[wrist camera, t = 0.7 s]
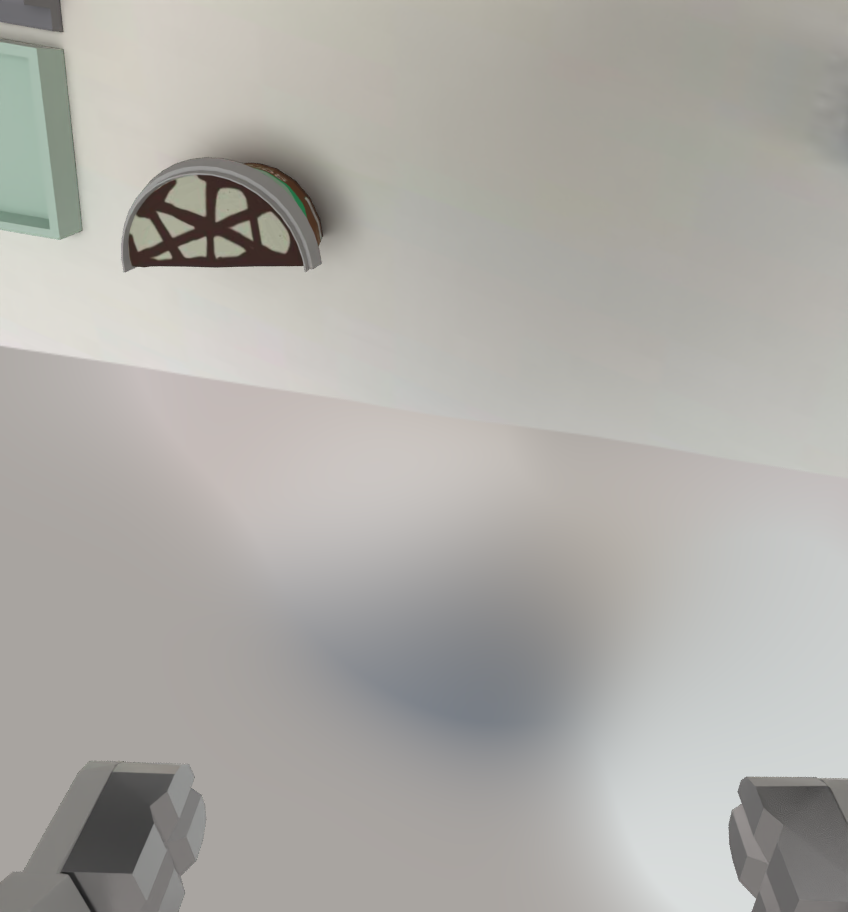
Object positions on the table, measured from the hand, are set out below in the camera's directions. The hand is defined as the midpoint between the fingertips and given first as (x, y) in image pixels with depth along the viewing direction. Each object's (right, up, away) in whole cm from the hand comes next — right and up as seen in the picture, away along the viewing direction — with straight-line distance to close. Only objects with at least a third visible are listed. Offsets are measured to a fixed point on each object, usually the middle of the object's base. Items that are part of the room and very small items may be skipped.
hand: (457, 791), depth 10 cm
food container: (-13, +24, +38) cm, 46 cm away
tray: (-30, +28, +37) cm, 55 cm away
